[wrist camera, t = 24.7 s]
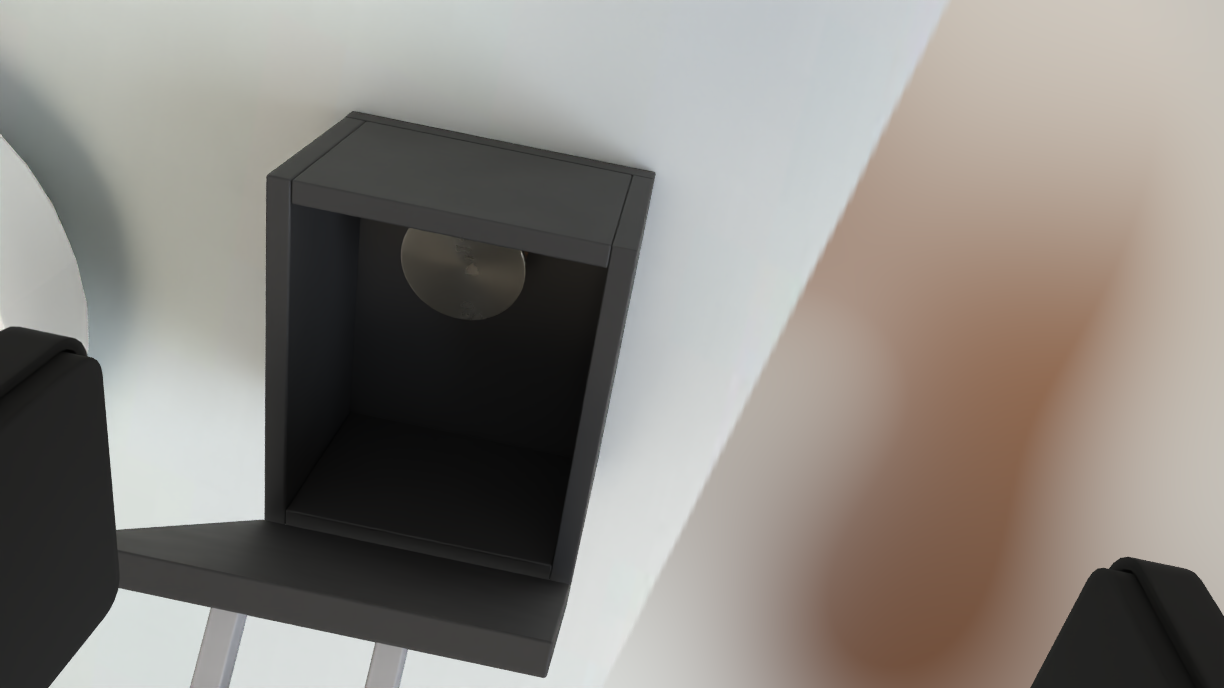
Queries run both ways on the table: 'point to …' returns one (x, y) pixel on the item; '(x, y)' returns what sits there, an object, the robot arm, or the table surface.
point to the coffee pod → (462, 274)
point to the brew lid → (343, 596)
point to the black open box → (443, 343)
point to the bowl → (36, 258)
